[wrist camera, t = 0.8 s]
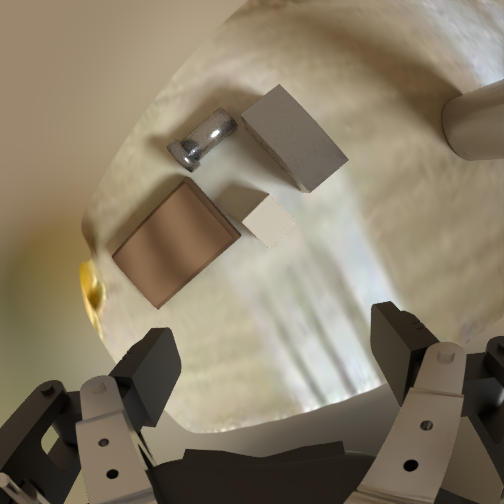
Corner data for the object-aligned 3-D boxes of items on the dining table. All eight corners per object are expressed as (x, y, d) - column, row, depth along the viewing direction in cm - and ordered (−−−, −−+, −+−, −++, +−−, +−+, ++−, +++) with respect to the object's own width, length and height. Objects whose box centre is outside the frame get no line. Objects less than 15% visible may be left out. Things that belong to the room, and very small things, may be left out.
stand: (190, 177, 32) (184, 176, 30) (241, 234, 33) (239, 238, 31) (116, 253, 34) (107, 258, 32) (161, 305, 36) (155, 312, 33)
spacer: (269, 193, 32) (269, 194, 28) (293, 218, 33) (297, 222, 29) (244, 218, 33) (241, 222, 29) (268, 242, 33) (269, 249, 30)
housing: (277, 101, 30) (279, 83, 24) (334, 165, 31) (349, 160, 25) (244, 128, 31) (239, 115, 25) (302, 192, 32) (310, 192, 26)
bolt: (219, 107, 30) (213, 97, 26) (242, 132, 31) (239, 124, 27) (173, 148, 31) (161, 143, 27) (196, 173, 32) (186, 171, 28)
